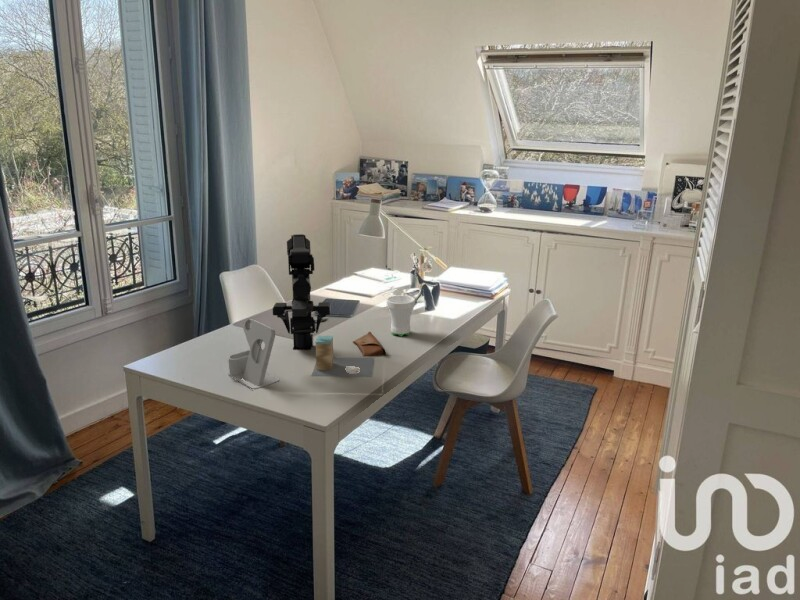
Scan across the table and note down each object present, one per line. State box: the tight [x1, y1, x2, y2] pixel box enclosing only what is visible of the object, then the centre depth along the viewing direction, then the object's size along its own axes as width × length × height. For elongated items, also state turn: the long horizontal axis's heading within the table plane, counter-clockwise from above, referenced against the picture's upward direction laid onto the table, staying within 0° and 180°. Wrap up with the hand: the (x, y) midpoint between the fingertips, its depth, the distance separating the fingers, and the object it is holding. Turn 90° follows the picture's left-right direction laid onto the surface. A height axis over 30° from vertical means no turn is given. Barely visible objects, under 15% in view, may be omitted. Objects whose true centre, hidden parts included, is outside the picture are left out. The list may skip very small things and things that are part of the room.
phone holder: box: [227, 318, 280, 390], centre depth 195 cm, size 17×10×18 cm, turn 44°
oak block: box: [315, 335, 334, 370], centre depth 205 cm, size 5×6×10 cm
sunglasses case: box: [352, 331, 387, 358], centre depth 223 cm, size 18×7×7 cm, turn 19°
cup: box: [385, 294, 416, 337], centre depth 237 cm, size 11×11×14 cm
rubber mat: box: [311, 356, 375, 378], centre depth 206 cm, size 20×16×1 cm
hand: (303, 333), depth 204 cm, fingers open, 9 cm apart
